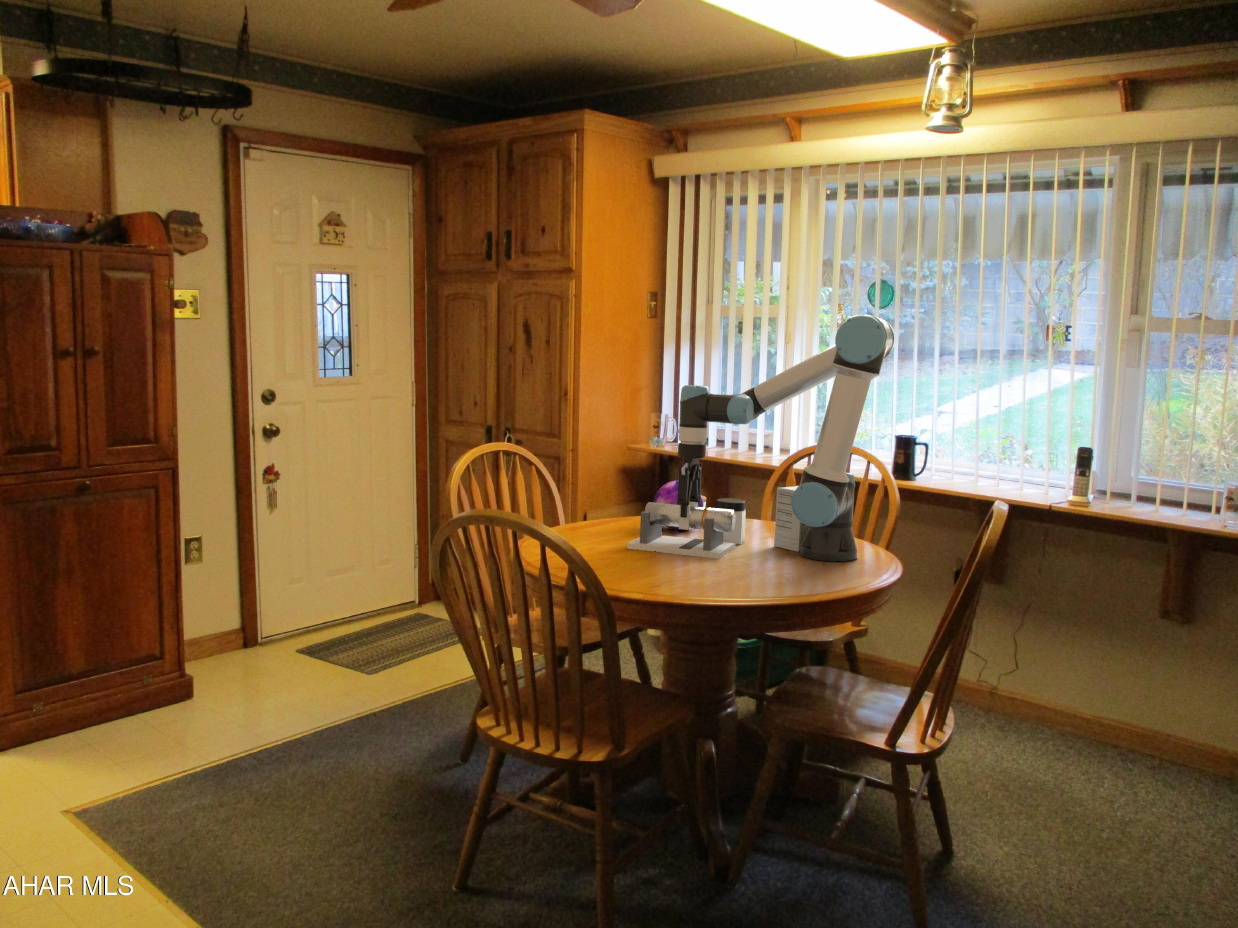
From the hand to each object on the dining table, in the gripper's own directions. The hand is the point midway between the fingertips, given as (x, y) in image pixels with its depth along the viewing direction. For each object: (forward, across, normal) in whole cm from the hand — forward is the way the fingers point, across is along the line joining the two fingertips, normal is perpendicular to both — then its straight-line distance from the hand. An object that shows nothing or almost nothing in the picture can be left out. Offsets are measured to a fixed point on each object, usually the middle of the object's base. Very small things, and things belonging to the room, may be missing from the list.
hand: (687, 527), depth 261 cm
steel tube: (-3, 0, 0) cm, 3 cm away
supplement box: (+6, -18, +26) cm, 33 cm away
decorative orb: (+6, -26, -12) cm, 30 cm away
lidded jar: (+6, -43, -14) cm, 46 cm away
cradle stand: (+6, 0, -2) cm, 6 cm away
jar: (+6, -16, +7) cm, 19 cm away
